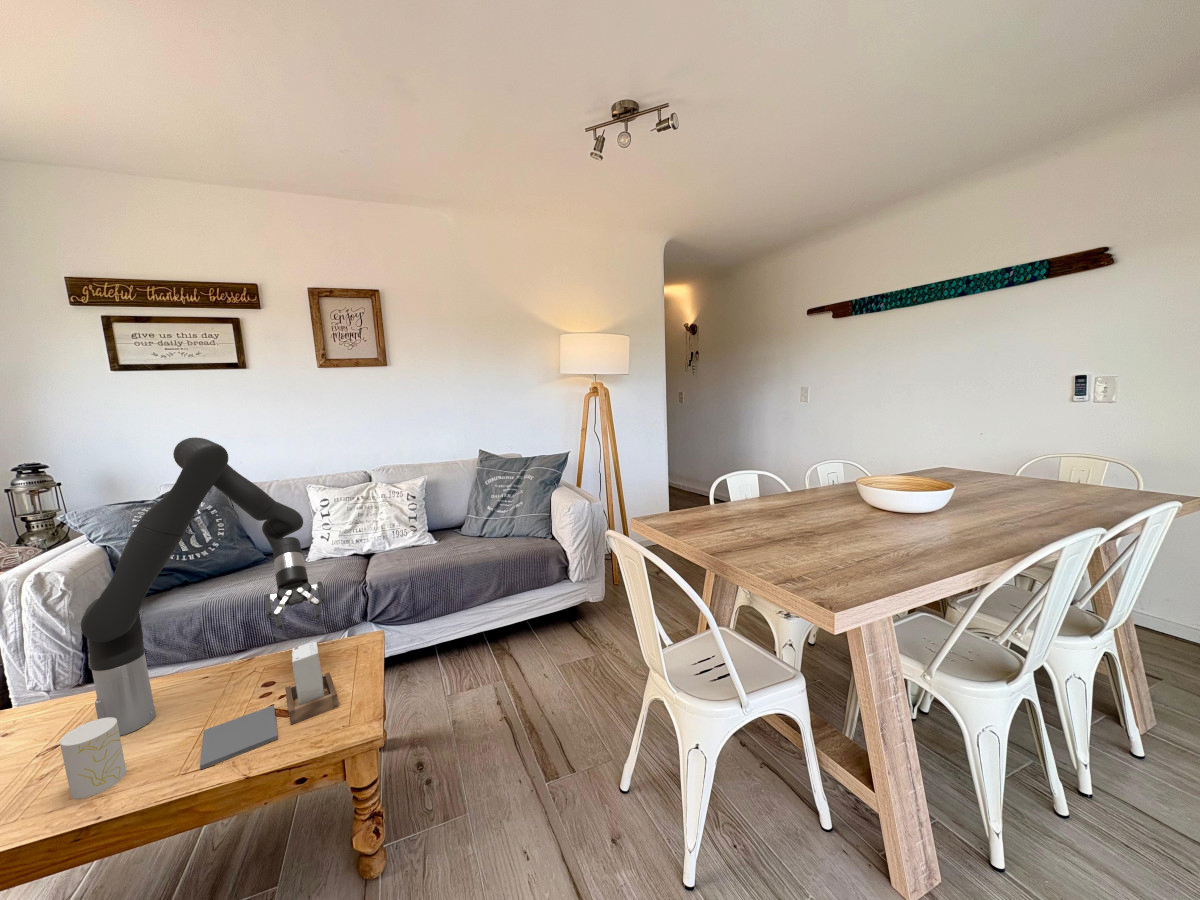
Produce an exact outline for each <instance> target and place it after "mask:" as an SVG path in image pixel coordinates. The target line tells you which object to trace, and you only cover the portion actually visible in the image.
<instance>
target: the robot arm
mask: <svg viewBox="0 0 1200 900" xmlns="http://www.w3.org/2000/svg"><path fill="white" fill-rule="evenodd" d="M173 459H174V462H175V464H176V465H177V466H178V467H180V469H181V472H180V474H179V475H178V477H177V479H176V481H175V483H174V484H173V486H172V487H171V489H170V490H169V491H168V492H167V494H165V496H164V497H162V498H161V499H160V500H159V501H158V502H156V503H155V504H153V505H152V506H151V507H150V509H148V510H147V511H146V512H145V513H144V515H143V516H142V517H141V518H140V520H139V522H138V523H137V524H136V526H135V528H134V529H133V531H132V533H131V535H130V537H129V539H128V540H127V543H126V544H125V547H124V548H123V551H122V553H121V555H120V557H119V561H118V563H117V565H116V567H115V568H116V569H115V571H114V573H113V575H112V577H111V580H110V581H109V583H108V585H106V588H105V589H104V590H103V592H102V593H101V595H100V596H99V597H98V598H96V599H95V600H93V601H92V602H91V603H90V604H89V605H88V607H87V608H86V609H85V612H84V613H83V616H82V618H81V622H80V629H81V632H82V634H83V636H84V637H85V638H86V639H88V644H89V645H88V646H89V663H90V667H91V668H90V669H91V673H92V679H93V684H94V688H95V694H96V699H95V702H94V706H95V711H96V712H95V713H96V717H97V719H101V718H108V717H113V718H116V719H117V724H118V729H119V734H120V737H121V736H125V735H127V734H131V733H133V732H135V731H137V730H139V729H142V728H143V727H144V726H146V725H148V724H149V723H150V722H153V720H154V718H155V717H156V709H155V708H156V707H155V704H154V697H153V693H152V687H151V686H152V685H151V682H150V681H151V680H150V675H149V669H148V663H147V658H146V653H145V646H144V636H143V635H144V634H143V628H142V621H141V615H140V609H141V607H142V605H143V602H144V600H145V598H146V595H147V593H148V592H149V590H150V588H151V586H152V585H153V583H154V581H155V580H156V578H157V577H158V576H159V574H160V573H161V572H162V570H163V568H164V567H165V566H166V565H167V563H168V561H170V559H171V557H172V555H173V554H174V552H175V550H176V549H177V547H178V546H179V543H180V542H181V541H182V538H183V537H184V535H185V533H186V531H187V529H188V527H189V526H190V523H191V522H192V520H193V518H194V517H195V515H196V514H197V512H198V511H199V508H200V506H201V505H202V503H203V501H204V499H205V497H207V495H208V494H209V491H210V490H212V487H215V488H216V489H218V490H219V491H221V493H223V494H224V495H225V496H226V497H228V498H229V499H230V500H231V502H233V503H234V504H235V505H237V506H238V507H239V508H240V509H241V510H243V511H244V512H245V513H246V514H248V515H249V516H250V517H251V518H253V519H254V520H256V521H258V522H259V521H261V522H262V521H264V522H263V523H262V526H261V531H262V533H263V535H264V537H265V538H266V540H267V542H268V544H269V545H270V549H272V553H273V561H274V562H273V563H274V569H273V570H274V575H275V576H274V577H275V582H276V587H277V592H276V593H273V594H270V593H266V594H265V595H264V603H265V604H264V607H265V616H266V619H267V618H268V619H269V618H274V622H275V623H274V624H275V628H276V629H279V630H283V627H284V626H283V621H282V613H283V611H285V609H286V608H287V606H290V607H293V606H294V605H300V604H303V603H304V602H305V603H307V604H309V605H311V606H313V612H314V617H315V620H319V618H320V617H321V616H322V615H321V614H322V610H321V605H322V604H325V603H326V602H327V600H326V598H327V596H326V592H325V589H324V586H323V583H322V581H321V580H320V581H317V583H314V584H310V583H309V582H310V581H309V578H308V571H307V566H306V562H305V558H304V556H303V551H302V546H301V542H300V540H299V538H297V537H293V536H288V535H291V534H293V533H295V532H297V531H299V530H301V528H302V527H303V525H304V517H302V515H301V513H300V512H298V511H297V510H296V509H294V508H291V507H289V506H287V505H286V504H284V503H280V502H278V501H276V500H275V499H274V498H272V497H271V496H270V495H269V494H268V493H266V492H265V491H264V490H263V489H262V488H261V487H259V486H258V485H256V484H255V483H253V482H252V481H250V480H249V479H248V478H247V477H245V476H243V475H242V474H240V473H239V472H238V471H236V470H235V469H234V468H232V466H230V465H229V464H228V462H229V453H228V451H227V450H226V448H225V447H224V446H223V445H221V444H218V443H217V442H214V441H212V440H210V439H207V438H203V437H189V438H185V439H183V440H180V441H179V442H178V443H177V444H176V446H175V447H174V449H173ZM312 590H314V592H316V593H317V592H318V597H319V598H316V597H315V596H314V595H313V594H311V592H312ZM275 599H277V600H279V603H278V605H277V607H276V609H275V610H272V604H273V603H274V602H275Z"/></svg>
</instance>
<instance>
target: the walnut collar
mask: <svg viewBox="0 0 1200 900" xmlns="http://www.w3.org/2000/svg"><path fill="white" fill-rule="evenodd" d="M322 678H323V685H324V689H326V690H327V692H328V694H327V695H324V696H323V697H321V698H318V699H315V700H312V701H310V702H307V703H304V704H302V705H299V704H298V705H296V706H295V703H294V700H296V699H298V697H297V691H296V684H295V683H294V684H291V685H288V686H285V687H284V691H285V698H286V703H287V709H288V715H289V716H288V717H289V722H290V726H292V725H294V724H296V723H299V722H302V721H305V720H307V719H309V718H312V717H315V716H317V715H320V714H323V713H325V712H328V711H330V710H333V709H336V708H338V707H339V700H338V693H337V691H336V686H335V684H334V680H333V677H332V675H331V673H330V672H326V673H323V674H322Z"/></svg>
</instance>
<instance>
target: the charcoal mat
mask: <svg viewBox="0 0 1200 900" xmlns="http://www.w3.org/2000/svg"><path fill="white" fill-rule="evenodd" d="M275 710H276V709H275V704H274V705H273V704H272V705H270V706H268V707H265V708H262V709H259V710H255V711H254V712H250V713H247V714H245V715H242V716H239V717H236V718H233V719H231V720H228V721H226V722H223V723H220V724H216V725H215V726H214V725H213V726H212V727H209V728H206V729H203V733H202V742H201V743H202V744H201V749H200V750H201V752H200V761H199V770H200V771H202V770H205V769H206V768H209V767H212V766H214V765H216V764H219V763H222V762H224V761H228V760H229V759H232V758H234V757H236V756H239V755H242V754H244V753H246V752H249V751H250V752H251V751H252V750H254V749H257V748H260V747H262V746H265V745H266V744H267V745H268V744H271V743H272V742H275V741H277V740H279V738H278V735H279V734H278V728H277V720H276V719H277V718H276V711H275ZM201 769H202V770H201Z"/></svg>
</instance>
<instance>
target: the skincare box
mask: <svg viewBox="0 0 1200 900" xmlns="http://www.w3.org/2000/svg"><path fill="white" fill-rule="evenodd" d="M291 651H292V653H291V656H292V660H291V664H292V671H293V676H294V684H296V691H297V697H298V698H297V701H298V706H299V705H302V704H304V703H307V702H310V701H312V700H315V699H318V698H321V697H323V696H325V688H324V685H323V678H322V675H323V674H322V667H321V659H320V655H319V647H318V643H317V641H313V642H309V643H306V644H303V645H299V646H296V647H293V648H291Z"/></svg>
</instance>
